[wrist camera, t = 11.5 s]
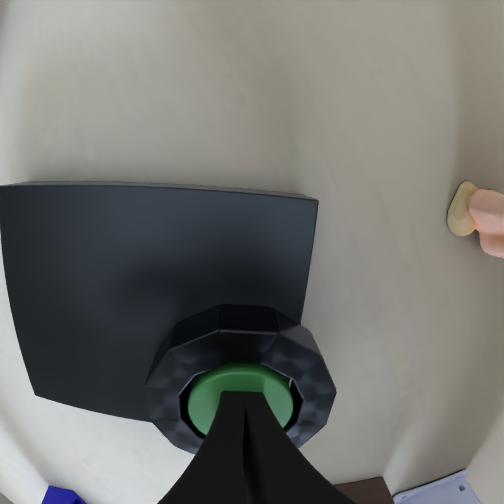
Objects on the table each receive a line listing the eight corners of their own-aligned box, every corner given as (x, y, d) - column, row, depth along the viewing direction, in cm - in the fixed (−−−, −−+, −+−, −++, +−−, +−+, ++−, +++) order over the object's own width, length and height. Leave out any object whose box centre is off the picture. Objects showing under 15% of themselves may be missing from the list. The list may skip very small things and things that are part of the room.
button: (292, 345, 11) (302, 373, 9) (278, 414, 12) (284, 444, 10) (192, 339, 11) (186, 368, 9) (192, 411, 12) (189, 441, 10)
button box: (334, 198, 12) (378, 212, 8) (296, 403, 15) (312, 461, 11) (28, 181, 11) (-31, 190, 7) (53, 375, 13) (21, 421, 10)
